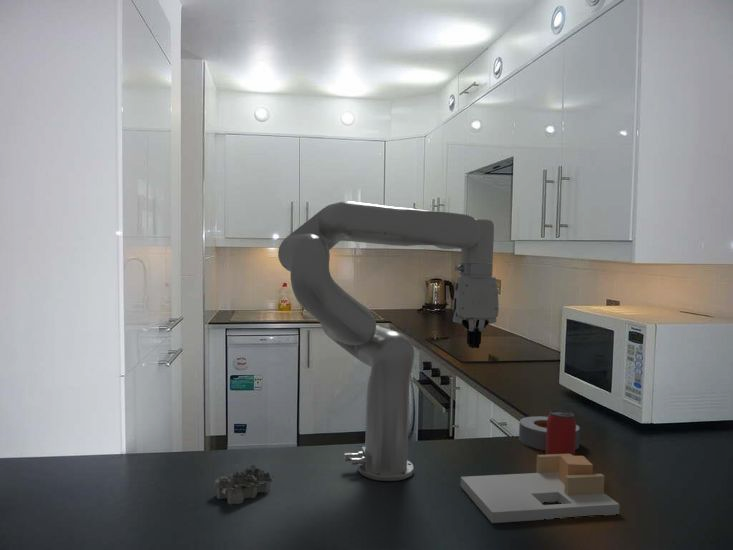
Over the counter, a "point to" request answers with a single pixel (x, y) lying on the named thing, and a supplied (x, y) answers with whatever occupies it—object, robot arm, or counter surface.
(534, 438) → the tape roll
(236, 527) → the counter surface
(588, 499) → the white flat board
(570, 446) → the beer can
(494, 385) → the counter surface
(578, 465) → the block
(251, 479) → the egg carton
